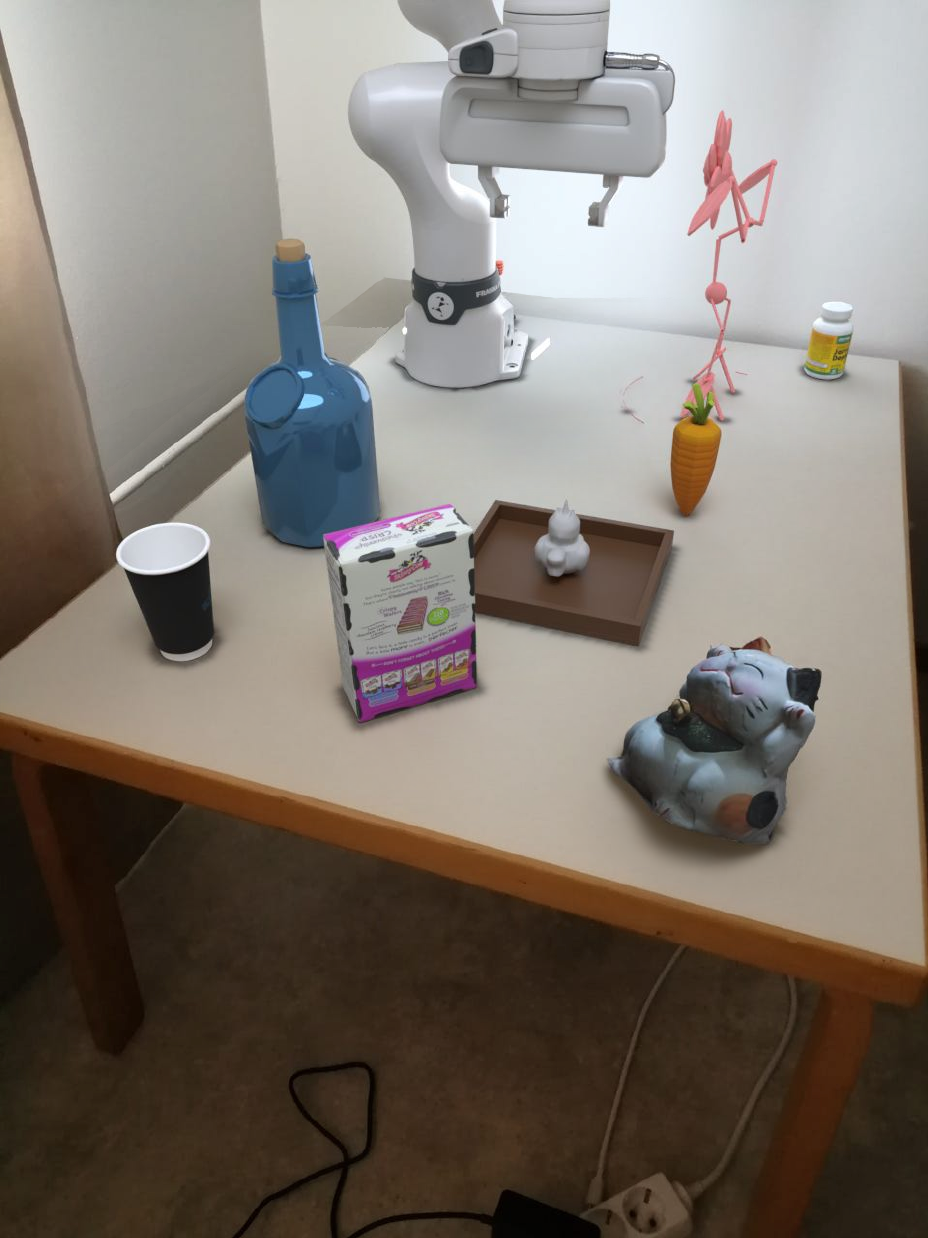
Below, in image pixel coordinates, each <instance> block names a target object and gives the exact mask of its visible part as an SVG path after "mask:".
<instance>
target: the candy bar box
mask: <svg viewBox="0 0 928 1238" xmlns="http://www.w3.org/2000/svg"><path fill="white" fill-rule="evenodd" d="M473 534H474V529H473V528H472V527H471V526H470V525H469V524H468V522H467V521H466V520H464V518H463V517H462V516H461V515H460V513H458V512H457V508H456V507H454V506H453V505H452V504H451V503H447V504H443V505H439V506H435V507H431V508H427V509H423V510H418V511H415V512H414V511H413V512H410V513H406V514H402V515H398V516H394V517H390V518H386V519H381V520H376V521H375V522H373V523H369V524H365V525H361V526H357V527H353V528H349V529H345V530H340V531H336V532H332V533H328V534H324V535H323V541H324V546H323V548H324V555H325V563H326V569H327V576H328V584H329V591H330V599H331V607H332V614H333V615H332V616H333V622H334V630H335V636H336V642H337V643H336V644H337V652H338V658H339V667H340V673H341V681H342V687H343V691H344V694H345V696H346V698H347V700H348V701H349V703H350V705H351V707H352V710H353V711H354V714H355V716H356V719H357V720H358V722H359V723H364V722H368V721H371V720H374V719H377V718H381V717H384V716H387V715H391V714H394V713H398V712H400V711H403V710H407V709H410V708H414V707H417V706H419V705H423V704H426V703H430V702H433V701H436V700H440V699H442V698H445V697H449V696H451V695H455V694H458V693H461V692H465V691H467V690H468V691H469V690H472V689H475V688H477V687H478V664H477V657H478V655H477V629H476V628H477V625H476V624H477V623H476V613H475V573H474V538H473Z"/></svg>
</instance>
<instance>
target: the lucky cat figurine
mask: <svg viewBox="0 0 928 1238" xmlns="http://www.w3.org/2000/svg"><path fill="white" fill-rule="evenodd" d="M709 647H710V648H709V649H708V651H707V653H706V657H705V659H703V660H702V661H701V662H699V663H697V664H696V665H694V666H693V667H691V669H690V671H689V673H688V674H687V675H686V680H685V682H684V683H683V684H682V685H681V687H680V689H679V692H678V696H679V698H674V700H673V701H671V704H670V705H668V706H667V710H664V711H662V712H660V713H658V714H653V715H649V716H646V717H644V718H642V719H639V720H638V721H637V722H636V723H634V724H633V725H632V726H631V727H630V728H629V729H628V730H627V731H626V733H625V735H624V739H623V746H622V752H621V755H620V756H617V757H616V758H611V757H607V758H606V761H607V763H608V766H609V768H610V770H611V771H612V772H613V773H614V774H615V775H617V776H619V777H620V778H622V779H623V780H624V781H626V782H627V783H628V784H629V785H630V786H631V787H632V788H633V789H634V790H635V792H636V793H637V794H638V795H639V797H640V798H641V799H642V800H643V802H644V804H646V805H647V807H648V808H649V809H650V810H651V811H652V812H654V813H655V814H656V815H658V816H660V817H661V818H663V819H665V820H666V821H667V822H668V823H669V824H671V825H674V826H676V827H679V828H681V829H683V830H687V831H690V832H694V833H697V834H701V835H705V836H710V837H715V838H719V839H724V840H728V841H735V842H737V843H739V844H742V845H743V844H744V845H766V844H770V842H771V840H772V838H773V835H774V832H775V828H776V826H777V824H778V823H779V821H780V819H781V817H782V816H783V814H784V813H785V811H786V809H787V804H788V802H787V801H788V800H787V786H788V785H787V781H788V780H787V779H788V773H789V767H791V764H792V763H793V762H795V760H796V758H797V757H798V754H799V752H800V750H801V749H802V748H803V747H804V746H805V745H806V743H807V741H808V739H809V737H810V734H811V733H812V731H813V729H814V727H815V724H816V716H817V715H815V704H816V702H817V701H819V696H818V694H819V691H820V688H821V684H822V678H823V676H822V675H823V672H822V670H821V669H819V668H816V667H815V668H813V667H803V668H800V667H799V668H798V667H795V666H793V665H791V664H789V662H787V661H786V660H785V659H784V658H782V657H781V656H778V655H773V654H772V651H771V647H772V646H771V645H770V643H769V641H768V640H767V639H766V638H764V637H763V636H758V637H757V638H755V639H753V640H750V641H749V642H746V643H745V644H744V645H743V646H742V647H733V646H728V645H726V644H723V643H720V644H719V645H718V646H714V645H713V644H710V645H709Z"/></svg>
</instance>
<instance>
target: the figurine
mask: <svg viewBox="0 0 928 1238" xmlns="http://www.w3.org/2000/svg"><path fill="white" fill-rule="evenodd" d="M715 125H716V126H715V131H714V139H713V143H711V144H710V146H709V150H708V153H707V155H706V157H705V160H704V165H703V168H702V173H703V183H704V185H705V187H707V188H706V192H705V198H704V201H703V202H702V203H701V204H700V206H699V207H698V209H697V210H696V212H695V214H694V216H693V217H692V218H691V221H690V224H689V227H688V230H687V233H686V235H687V236H688V237H691V236H692V235H693V234H694V233H695V232H697V230H699V229H700V228H701V227H702V226H703V225H704V224H705V223H707V222H708V221H710V222H709V225H710V230H712V231H713V230H714V229H715V227H716V225H717V223H718V219H719V216H720V215H719V214H720V211H721V206H722V205H723V203H724V201H725V200H726V199H727V197H728V195H729V193H731V197H732V201H733V206H734V207H733V208H734V212H735V217H736V221H737V227H734V228H732V229H730V230H728V231H726V232H724V233H722V234H720V235H718V239H715V240H716V241H715V252H714V262H713V275H712V276H713V277H712V282H711V283H710V284H708V285H707V287H706V288H705V291H704V296H705V297H704V298H705V300H706V301H707V302H708V303H709V304H711V307H712V309H713V311H714V315H715V318H716V320H717V323H718V326H719V329H720V331H719V334H718V337H717V341H716V344H715V347H714V350H713V352H712V357H711V359H710V360H709V361H708V362H707V364H705V365H704V367H702V368H701V369H699V371H698V373H696V374H695V375H694V376H693V377H692V380H693V381H694V380H696V379H697V378H699V377H700V376H701V375H702V374H703V373H704V372H705V371H706V370H707V372H706V373H705V374H704V375H702V377H701V378H699V379H698V380H697V381H696V382H695V383H698V384H700V387H701V390H702V394H703V399H704V401H705V400H706V399H707V394H708V392H712V393H713V394H714V400H713V402H714V403H715V404H714V407H715V411H716V413H717V417H718V418H719V421H724V420H725V417H724V414H723V412H722V408H721V406H720V404H719V403H720V402H719V400H718V398H717V395H716V392H715V389H714V387H713V385H714V383H715V378H716V377H715V376H716V375H715V373H714V372H713V371H712V367H713V365H714V363H715V362H716V361H717V360H718V359H719V361H720V364H721V367H722V370H723V373H724V376H725V379H726V382H727V385H728V387H729V390H730V393H731V394H734V393H735V392H736V389H735V387H734V384H733V381H732V378H731V375H730V372H729V369H728V366H727V364H726V361H725V357H724V353H725V352H726V351H727V347H724V348H722V345H723V341H724V340H723V339H724V336H725V331H726V326H727V321H728V317H729V313H730V308H731V304H732V300H731V298H729V297H727V296H728V290H727V287H726V285H725V284H724V283H722V282H719V281H717V277H718V276H717V275H718V269H719V268H718V267H719V261H720V252H721V244H722V240H723V239H726V238H727V237H729V236H731V235H733V234H735V233H739V238H740V242H741V244H745V243H746V240H747V236H748V235H747V234H748V230H749V229H750V228H752V227H753V226H758V227H763V225H764V221H765V218H766V212H767V208H768V203H769V197H770V193H771V189H772V184H773V179H774V174H775V169H776V166H777V165H778V160H777V159H775V158H773V159H771V160H770V161H769V162H767V163H765V164H764V165H762V166H760V167H759V168H757V169H756V170H755V171H753V172H752V173H751V174H749V175H748V176H747V177H746V178H744V179H743V181H742V182H741V183H740V184H738V180H737V178H736V176H735V173H734V170H733V160H732V159H733V158H732V155H731V153H730V152H729V150H730V146H731V139H732V129H733V121H732V118H731V117H728V119H726V116H725V112H724V110H723V109H722V110H721V111H720V112H719V114H718V117H717V120H716V124H715ZM767 176H768V177H767ZM766 177H767V183H766V187H765V193H764V197H763V202H762V207H761V210H760V211H761V212H760V216H759V220H757V219H756V220H755V219H754V218H753V217H751V216H750V213H749V211H748V207H747V205H746V202H745V200H744V196H743V194H745V193H746V192H748V191H750V190H752V188H754V187H756V186H757V185H758V184H760V182H761V181H763V180H764V179H765V178H766ZM730 191H731V192H730ZM740 207H741V208H740ZM741 210H742V212H743V215H744V218H745V221H744V223H743V217H742V213H741ZM725 301H726V302H727V304H726V310H725V314H724V319H723V323H722V321H721V318H720V315H719V312H718V309H717V306H716V305H720V304H721V303H723V302H725ZM734 373H735V374H739V375H744V376H748V373H744V372H738V371H734ZM643 377H644V376H640V377H639V378H636V379H635V380H634V381H632V382H631V383H630V384H628V386H627V387H626V388H625V390H627V389H628V388H629V386H631V385H632V384H634V383H635V382H636V381H639V380H640V379H642V378H643ZM622 391H623V389H621V390H620V393H619V394H621V393H622ZM625 392H626V391H624V393H623V394H622V395H623V396H624V395H625ZM622 401H623V404H624V407H623V406H621V409H623V411H624V412H626V410H627V412H628V413H629V414H630V415H631V417H633V418H634V419H636V420H637V421H639V422H640V423H642V424H643V425H644V423H645V422H644V421H642V420H640V419H639V418H637V417H636V416H635V415H634V414H633V413H631V411H629V408H628V407H627V406H626V404H625V401H624V400H622ZM688 401H691V402H693V404H694V406H695V405H697V403H696V399H695V395H694V391H693V387H692V386H691V388H690V390H689V392H688V394H687V396H686V398H685V400H684V403H686V402H688ZM624 408H625V409H626V410H625V409H624ZM689 414H692V413H691V412H690V411H689V410H688V409H686V408H684V407H683V406H682V410H681V413H680V416H679V417H680V418H681V419H684V418H685V417H687V416H688V415H689Z"/></svg>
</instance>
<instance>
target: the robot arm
mask: <svg viewBox="0 0 928 1238" xmlns="http://www.w3.org/2000/svg"><path fill="white" fill-rule="evenodd" d="M397 4H398V7H399V10H400V12H401V14H402V16H403V17H404V18H405V20H406V21H407V22H408V23H409V24H410V25H411V26H412V27H413V28H415V29H416V30H417V31H419V32H421V33H423V34H425V35H427V36H428V37H430V38H433V39H435V40H436V41H437V42H438V43H439V44H440V45H441V46H442V47H443V48H444V49H445V51H446V52H447V60H442V61H441V60H440V61H417V62H416V61H415V62H397V63H393V64H389V65H385V66H382V67H378V68H374V69H371V70H368V71H364V72H362V73H361V74H360V76H359V77H358V78H357V80H356V81H355V83H354V85H353V86H352V88H351V89H352V90H351V93H350V94H349V99H348V105H347V120H348V125H349V129H350V133H351V135H352V137H353V139H354V141H355V143H356V145H357V146H358V147H359V149H360V150H361V152H362V153H363V154H364V155H365V156H366V157H367V158H368V159H370V160H372V161H373V162H375V163H376V164H377V165H378V166H379V167H381V168H382V169H383V170H384V171H385V172H386V173H387V174H388V175H389V177H390V178H391V179H392V180H393V182H394V183H395V185H396V186H397V189H398V190H399V191H400V194H401V195H402V197H403V200H404V201H405V204H406V207H407V211H408V216H409V219H410V220H409V221H410V227H411V236H412V246H413V260H414V261H413V262H414V267H413V269H412V270H411V280H410V287H411V294H412V298H413V299H412V301H411V302H410V303H408V304H407V306H406V307H405V308H404V318H403V319H404V320H403V321H404V322H403V328H402V333H403V349H402V350H401V351H398V352H397V353H396V355H395V363H396V364H398V365H399V366H401V367H403V368H405V369H406V371H407V373H408V374H409V376H410V377H412V379H414V380H415V381H418V382H420V383H423V384H426V385H430V386H435V387H441V388H458V389H459V388H472V387H479V386H483V385H486V384H490V383H493V382H496V381H503V380H511V379H512V380H513V379H517V378H519V377H520V375H521V372H522V368H523V365H524V360H525V356H526V352H527V349H528V345H529V334H528V333H526V332H523V331H521V330H519V329H515V321H516V319H517V315H516V314H515V309H514V305H513V304H512V302H509V300H508V299H506V297H505V296H503V294H502V292H501V291H502V288H501V287H502V286H501V276H502V275H503V273H504V272H503V271H504V262H503V260H501V259H497V258H496V256H497V219H507V217H509V216H510V213H511V212H510V211H511V207H510V204H511V195H510V194H503V193H502V191H501V188H500V186H499V184H498V181H497V180H496V176H497V175H499V173H500V168H502V169H503V168H505V169H519V170H532V171H545V172H546V171H547V172H559V173H560V172H561V173H572V174H573V173H574V174H575V173H576V174H589V175H599V176H602V187H603V188H604V189H607V191H606V193H605V194H604V196H603V198H602V199H601V200H600V201H593V202H592V203H591V204H590V205H589V206H588V216H589V217H588V218H587V226H588V227H595V228H605V227H606V225H607V224H608V220H609V208H610V204H611V203H612V201H613V200H614V198H615V197H616V195H617V193H618V192H619V190H620V189H621V187H622V186H623V184H624V177H629V178H642V179H643V178H644V179H648V178H651V177H653V176H654V175H655V174H656V173H657V172H658V171H659V170H661V168H662V167H663V165H664V164H665V163H664V162H665V160H666V156H667V155H666V154H667V135H668V134H667V133H668V131H667V125H668V124H667V112H668V111H669V110H670V108H671V107H672V105H673V102H674V96H675V95H674V94H675V86H676V76H675V72H674V69H673V68H672V66H671V65H670V64H669V63H668V62H666V61H665V60H663V59H661V57H660V55H659V54H655V53H643V54H638V53H637V54H634V53H630V52H618V51H617V52H615V51H608V45H609V28H610V15H611V0H504V1H503V6H502V22H501V20H500V18H499V15H498V13H497V11H496V7H495V4H494V1H493V0H397ZM659 67H662V68H664V69H661V68H659ZM450 165H461V166H462V165H465V166H477V179H478V181H479V184H480V185H481V187H482V189H483V191H484V193H485V195H486V196H487V198H488V199H489V200H488V199H487V198H486V197H485V196H483V195H482V194H481V193H479V192H477V191H476V190H474V189H472V188H470V187H467V186H466V185H463V184H461V183H459V182H457V181H455V180H454V179H452V178H451V175H450V174H451V173H450ZM550 344H551V342H550V338H547V339H545V341H543V342H542V343H541V344H540V345H539V346H538V347H537V348H536V349H535V350H534V351H532V352H531V360H535V359H536V358H537V357H538V356H539V355H540V354H541V353H542V352H544V351H545V349H546V348H547V347H549V345H550Z"/></svg>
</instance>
